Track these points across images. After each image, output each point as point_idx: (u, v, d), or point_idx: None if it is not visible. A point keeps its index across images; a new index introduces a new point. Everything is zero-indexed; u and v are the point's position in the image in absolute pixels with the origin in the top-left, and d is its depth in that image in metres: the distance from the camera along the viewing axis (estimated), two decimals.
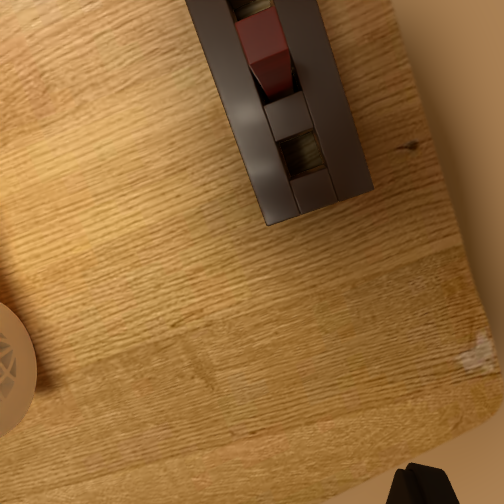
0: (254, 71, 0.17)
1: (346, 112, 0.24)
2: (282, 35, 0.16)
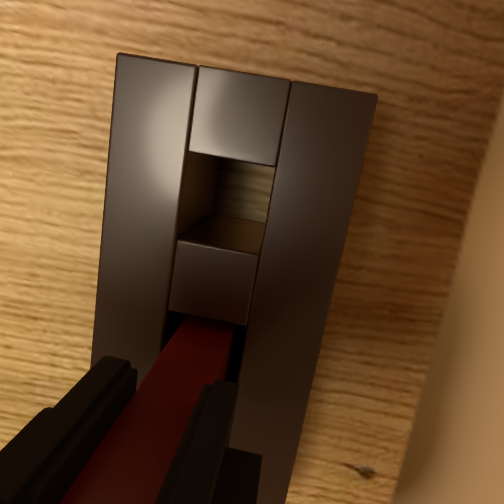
0: None
1: (284, 469, 0.13)
2: None
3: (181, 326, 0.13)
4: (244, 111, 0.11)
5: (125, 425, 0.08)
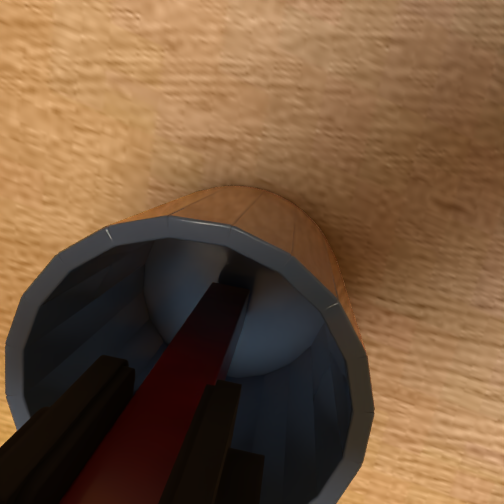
0: None
1: None
2: None
3: (181, 329, 0.13)
4: None
5: (125, 428, 0.08)
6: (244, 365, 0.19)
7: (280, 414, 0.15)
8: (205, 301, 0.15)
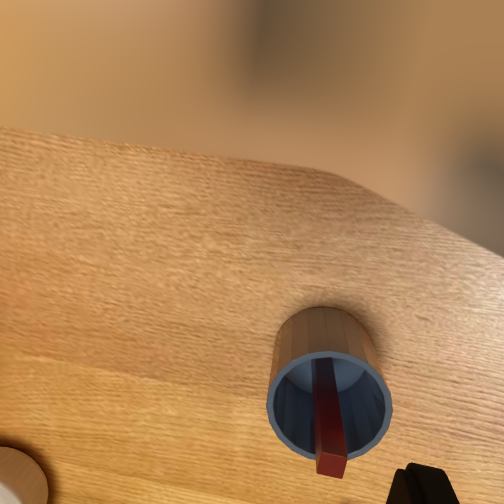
0: (316, 459, 0.27)
1: None
2: (343, 472, 0.26)
3: (317, 375, 0.34)
4: None
5: (322, 409, 0.30)
6: None
7: (349, 412, 0.36)
8: (317, 360, 0.37)
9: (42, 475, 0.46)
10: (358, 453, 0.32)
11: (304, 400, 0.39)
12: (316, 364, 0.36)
